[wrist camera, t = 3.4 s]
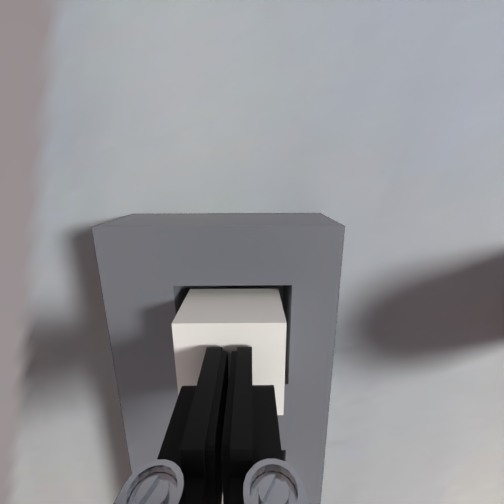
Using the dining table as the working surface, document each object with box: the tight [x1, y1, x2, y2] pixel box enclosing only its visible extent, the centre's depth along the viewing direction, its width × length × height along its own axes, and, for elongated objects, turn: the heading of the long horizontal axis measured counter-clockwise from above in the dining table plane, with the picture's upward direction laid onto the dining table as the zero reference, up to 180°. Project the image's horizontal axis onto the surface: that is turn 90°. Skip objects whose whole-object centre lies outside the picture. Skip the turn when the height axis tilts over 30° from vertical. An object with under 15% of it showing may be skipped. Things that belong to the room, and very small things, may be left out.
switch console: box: [92, 213, 345, 504], centre depth 16 cm, size 28×10×4 cm, turn 0°
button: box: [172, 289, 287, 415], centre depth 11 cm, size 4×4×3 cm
